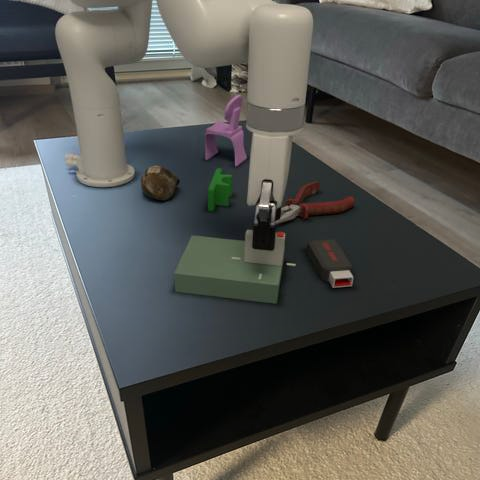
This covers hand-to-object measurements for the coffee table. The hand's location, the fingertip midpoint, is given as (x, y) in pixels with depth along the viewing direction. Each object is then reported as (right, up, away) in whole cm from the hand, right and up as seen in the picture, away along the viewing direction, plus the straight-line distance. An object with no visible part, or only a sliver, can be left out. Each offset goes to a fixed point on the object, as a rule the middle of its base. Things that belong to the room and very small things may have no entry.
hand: (266, 233), depth 76 cm
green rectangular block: (-4, -6, +6) cm, 10 cm away
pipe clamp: (-8, +12, +29) cm, 32 cm away
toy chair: (-8, +26, +47) cm, 54 cm away
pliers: (+9, +10, +27) cm, 30 cm away
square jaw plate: (0, -4, +3) cm, 5 cm away
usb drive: (+11, -5, +9) cm, 15 cm away
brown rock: (-21, +13, +30) cm, 39 cm away
